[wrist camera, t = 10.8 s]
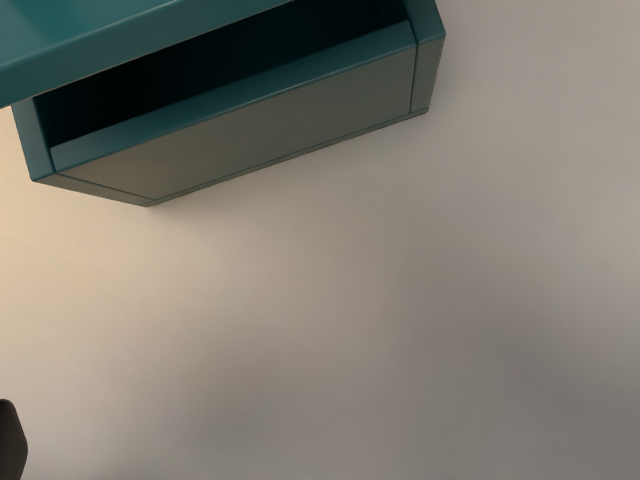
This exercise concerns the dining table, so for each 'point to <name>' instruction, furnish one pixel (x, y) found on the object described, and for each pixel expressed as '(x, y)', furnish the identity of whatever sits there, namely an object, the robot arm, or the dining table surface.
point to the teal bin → (235, 99)
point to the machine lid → (98, 36)
